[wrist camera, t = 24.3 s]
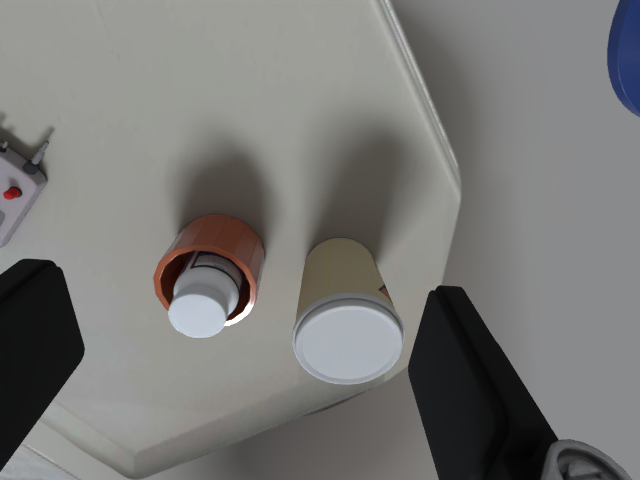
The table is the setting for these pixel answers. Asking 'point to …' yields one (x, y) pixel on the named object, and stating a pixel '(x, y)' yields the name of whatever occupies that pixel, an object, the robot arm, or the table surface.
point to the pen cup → (224, 240)
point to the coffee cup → (345, 316)
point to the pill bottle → (205, 294)
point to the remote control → (17, 188)
